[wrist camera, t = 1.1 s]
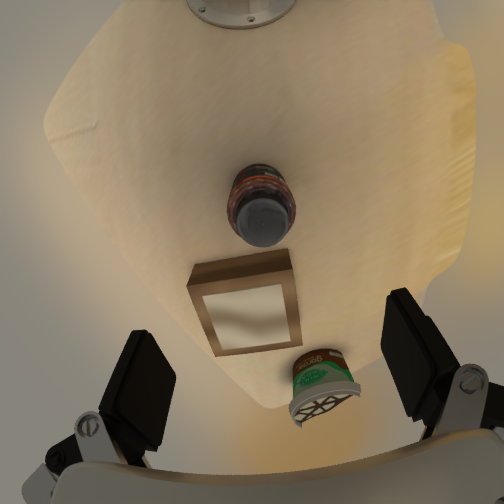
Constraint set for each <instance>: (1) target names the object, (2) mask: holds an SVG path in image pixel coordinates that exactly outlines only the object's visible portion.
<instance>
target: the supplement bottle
mask: <svg viewBox="0 0 504 504" xmlns="http://www.w3.org/2000/svg"><path fill="white" fill-rule="evenodd" d="M227 216H228V220H229V223H230V225H231V227H232V229H233V230H234V231H235V232H236V234H238V235H239V236H240V237H241V238H243V240H244V241H246V242H247V243H248V244H250V245H253V246H256V247H269V246H273V245H275V244H277V243H278V242H279V241H281V240H282V239H283V238H284V236H285V235H286V234H287V233H288V231H289V230H290V229H291V227H292V225H293V223H294V220H295V216H296V205H295V201H294V198H293V196H292V194H291V192H290V190H289V188H288V186H287V184H286V182H285V180H284V178H283V177H282V175H281V174H280V173H279V172H278V171H277V170H276V169H274V168H273V167H271V166H268V165H265V164H254V165H250V166H248V167H246V168H244V169H243V170H242V171H241V172H240V173H239V174H238V175H237V177H236V178H235V180H234V183H233V186H232V189H231V193H230V196H229V200H228V204H227Z"/></svg>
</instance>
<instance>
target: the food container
mask: <svg viewBox="0 0 504 504" xmlns="http://www.w3.org/2000/svg"><path fill="white" fill-rule="evenodd" d="M360 393H361V388H360V384H358V383H355V382H354V380H353V377H352V375H351V373H350V371H349V369H348V366H347V364H346V362H345V360H344V357H343V355H342V353H341V352H339V351H337V350H333V349H318V350H313V351H310V352H308V353H306V354H304V355H302V356H301V357H300V358H298V359H297V360H296V362H295V363H294V366H293V400H292V401H291V403H290V405H289V412H290V415H291V417H292V419H293V420H294V423H295V424H296V425H298V426H299V427H302V422H304V421H306V420H308V419H310V418H312V417H314V416H316V415H320V414H323V413H325V412H327V411H329V410H331V409H333V408H334V407H335V406H337V405H338V404H339V403H341V402H342V401H344V400H346V399H347V398H349V397H351V396H352V395H355V396H358V397H360Z"/></svg>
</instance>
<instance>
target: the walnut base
mask: <svg viewBox="0 0 504 504" xmlns="http://www.w3.org/2000/svg"><path fill="white" fill-rule="evenodd" d="M187 289H188V292H189V294H190V297H191V299H192V302H193V305H194V307H195V310H196V312H197V315H198V317H199V320H200V322H201V324H202V327H203V329H204V332H205V334H206V336H207V339H208V341H209V344H210V346H211V348H212V350H213V353H214V355H215V357H218V356H229V355H238V354H247V353H255V352H263V351H270V350H277V349H284V348H290V347H296V346H302V345H303V343H302V334H301V326H300V319H299V311H298V303H297V296H296V289H295V282H294V275H293V268H292V264H291V260H290V255H289V251H288V249H282V250H276V251H271V252H265V253H259V254H253V255H248V256H242V257H236V258H230V259H224V260H219V261H213V262H207V263H201V264H196V265H194V268H193V270H192V273H191V275H190V278H189V281H188V283H187Z"/></svg>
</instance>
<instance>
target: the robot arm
mask: <svg viewBox="0 0 504 504" xmlns="http://www.w3.org/2000/svg"><path fill="white" fill-rule="evenodd" d="M186 1H187V3H188V5H189V7H190V8H191V10H192V11H193V12H194V13H195V14H196V15H197V16H198V17H200V18H201V19H202V20H204V21H206V22H208V23H210V24H212V25H216V26H220V27H224V28H231V29H247V28H255V27H259V26H263V25H266V24H269V23H271V22H273V21H276V20H277V19H279V18H281V17H282V16H284V15H285V14H286V13H287V12H288V11H289V10H290V9H291V8H292V6H293V5H294V3H295V1H296V0H186ZM203 11H205V12H204V13H202V12H203ZM249 21H254V22H253V23H250V22H249ZM381 350H382V353H383V355H384V357H385V360H386V362H387V365H388V367H389V369H390V372H391V374H392V377H393V379H394V382H395V385H396V387H397V390H398V392H399V395H400V398H401V400H402V403H403V406H404V409H405V411H406V414H407V416H408V417H411V416H412V419H413V422H416V421H418V420H421V419H422V420H423V423H424V425H425V429H424V431H423V433H422V436H421V438H420V440H419V442H416V443H413V444H410V445H407V446H405V447H401V448H398V449H395V450H392V451H389V452H385V453H382V454H378V455H375V456H371V457H367V458H363V459H359V460H356V461H351V462H347V463H342V464H338V465H332V466H327V467H322V468H315V469H309V470H302V471H294V472H284V473H272V474H256V475H209V474H193V473H181V472H172V471H164V470H156V469H152V468H151V466H150V464H149V462H148V461H147V459H146V457H145V455H144V454H145V450H147V451H154V452H157V449H158V446H160V445H161V443H162V439H163V435H164V430H165V426H166V421H167V416H168V412H169V408H170V404H171V399H172V395H173V391H174V387H175V383H176V375H175V372H174V370H173V369H172V367H171V366H170V364H169V362H168V361H167V359H166V358H165V356H164V354H163V353H162V351H161V349H160V348H159V346H158V344H157V343H156V341H155V339H154V337H153V336H152V334H151V333H148V331H147V330H133V331H132V332H131V334H130V336H129V338H128V340H127V342H126V344H125V346H124V349H123V351H122V353H121V355H120V357H119V360H118V362H117V364H116V367H115V369H114V371H113V374H112V376H111V378H110V381H109V383H108V385H107V388H106V390H105V393H104V395H103V397H102V400H101V402H100V405H99V408H98V409H99V410H100V411H99V413H96V412H93V411H89V412H86V413H84V414H82V415H81V416H80V417H79V418H78V419H77V421H76V423H75V428H74V430H75V433H74V434H73V435H71V436H69V437H68V438H66V439H65V440H63V441H61V442H59V443H58V444H56V445H54V446H53V447H51V448H50V449H49V450H48V452H47V454H46V458H45V462H46V464H44V463H42V464H41V465H40V467H39V468H38V469H37V470H36V471H35V472H34V473H33V474H32V475H31V476H30V477H29V478H28V479H27V480H26V481H25V483H24V484H23V486H22V495H23V498H24V500H25V501H26V503H27V504H504V386H501V385H498V384H495V383H491V382H489V378H488V375H487V373H486V371H485V370H484V369H483V368H482V367H480V366H478V365H476V364H465V365H463V366H460V364H459V362H458V361H457V359H456V357H455V356H454V354H453V352H452V351H451V349H450V347H449V346H448V344H447V342H446V341H445V339H444V338H443V336H442V334H441V333H440V331H439V330H438V328H437V327H436V325H435V324H434V322H433V321H432V319H431V318H430V317H429V316H425V314H424V313H423V311H422V310H421V308H420V307H419V305H418V304H417V303H416V301H415V300H414V298H413V297H412V295H411V294H410V293H409V291H408V290H407V289H406V288H405V287H404V288H400V289H396V290H392V291H391V293H390V295H388V296H387V299H386V308H385V316H384V324H383V331H382V338H381Z"/></svg>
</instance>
